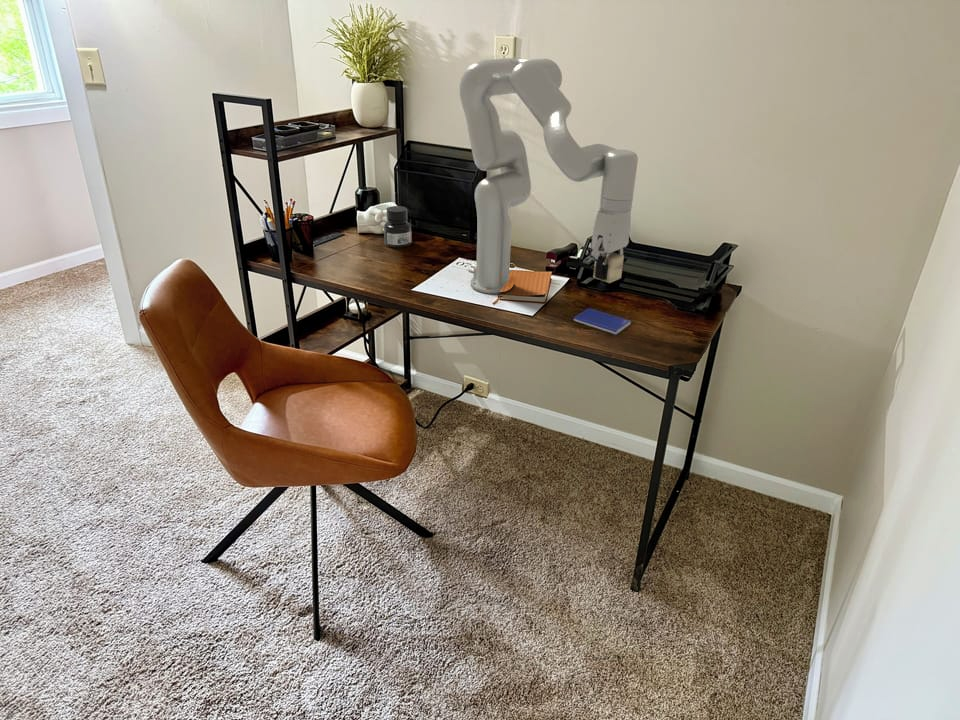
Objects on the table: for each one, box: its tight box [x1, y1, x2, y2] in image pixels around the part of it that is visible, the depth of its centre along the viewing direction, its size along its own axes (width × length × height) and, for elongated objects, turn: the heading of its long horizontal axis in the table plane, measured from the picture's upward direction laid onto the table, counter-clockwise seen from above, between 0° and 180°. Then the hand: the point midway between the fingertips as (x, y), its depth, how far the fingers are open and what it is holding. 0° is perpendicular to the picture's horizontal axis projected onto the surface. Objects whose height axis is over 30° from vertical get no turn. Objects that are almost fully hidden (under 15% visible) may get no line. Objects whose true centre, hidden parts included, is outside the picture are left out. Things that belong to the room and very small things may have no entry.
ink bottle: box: [383, 205, 412, 249], centre depth 221 cm, size 10×9×12 cm
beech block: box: [592, 252, 625, 284], centre depth 167 cm, size 5×5×6 cm
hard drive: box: [573, 307, 632, 335], centre depth 175 cm, size 2×8×12 cm
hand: (607, 275), depth 168 cm, fingers closed on beech block, 5 cm apart
